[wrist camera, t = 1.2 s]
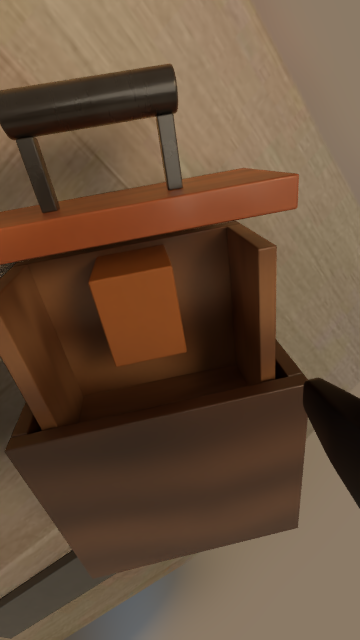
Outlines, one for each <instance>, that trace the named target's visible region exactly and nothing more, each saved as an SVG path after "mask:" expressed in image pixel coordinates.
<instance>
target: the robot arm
mask: <svg viewBox="0 0 360 640" xmlns="http://www.w3.org/2000/svg"><path fill="white" fill-rule="evenodd" d="M303 407H304V409H305V412H306V414H307V416H308V418H309V420H310V422H311V424H312V426H313V428H314V430H315V432H316V434H317V436H318V438H319V440H320V442H321V444H322V446H323V448H324V450H325V452H326V454H327V456H328V458H329V460H330V462H331V463H332V465H333V466H334V468H335V470H336V471H337V473H338V475H339V476H340V478H341V479H342V481H343V483H344V484H345V486H346V487H347V489H348V491H349V492H350V494H351V496H352V497H353V498H354V500H355V502H356V504H357V505H358V507H359V508H360V398H358V397H356V396H354V395H352V394H350V393H348V392H346V391H344V390H342V389H341V388H339V387H337V386H335V385H333V384H331V383H329V382H327V381H325V380H323V379H321V378H314V379H310V380H306V381H305V382H304V388H303Z"/></svg>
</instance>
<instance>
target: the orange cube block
mask: <svg viewBox="0 0 360 640" xmlns="http://www.w3.org/2000/svg"><path fill="white" fill-rule="evenodd" d="M88 284H89V287H90V290H91V293H92V297H93V300H94V303H95V306H96V309H97V312H98V315H99V318H100V321H101V324H102V327H103V330H104V333H105V336H106V339H107V342H108V345H109V348H110V351H111V354H112V357H113V360H114V363H115V366H116V367H120V366H124V365H129V364H134V363H139V362H143V361H148V360H153V359H157V358H162V357H167V356H172V355H176V354H181V353H185V352H186V351H187V350H186V344H185V338H184V332H183V326H182V320H181V315H180V309H179V303H178V297H177V291H176V285H175V280H174V274H173V268H172V265H171V262H170V260H169V257H168V254H167V252H166V249H165V246H164V245H157V246H152V247H147V248H141V249H136V250H131V251H126V252H120V253H115V254H110V255H105V256H100V257H97V258H96V260H95V263H94V266H93V269H92V272H91V275H90V278H89V281H88Z"/></svg>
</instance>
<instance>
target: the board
mask: <svg viewBox="0 0 360 640" xmlns="http://www.w3.org/2000/svg"><path fill="white" fill-rule="evenodd" d="M114 574H116V573H114ZM114 574H110V575H106V576H102V577H98V578H94V579H92V577H91V576H90V575H89V573H88V572H87V570H86V569H85V567H84V566H83V564H82V563H81V561H80V560H79V559H78V557H77V556H76V554H75V553H74V551H72V552H70V553H69V554H67V555H66V556H64V557H63V558H61V559H60V560H58V561H57V562H55V563H54V564H52V565H51V566H49V567H48V568H46V569H45V570H43V571H42V572H40V573H39V574H37V575H36V576H34V577H33V578H31V579H30V580H29V581H27V582H26V583H24V584H23V585H21V586H20V587H18V588H17V589H15V590H14V591H12V592H11V593H9V594H8V595H6V596H5V597H3V598H2V599H0V637H4V638H10V639H11V638H13V637H14V636H16V635H18V634H19V633H21V632H22V631H24V630H26V629H27V628H29V627H30V626H32V625H34V624H35V623H37V622H39V621H40V620H42V619H43V618H45V617H47V616H48V615H50V614H51V613H53V612H55V611H56V610H58V609H59V608H61V607H63V606H64V605H66V604H68V603H69V602H71V601H72V600H74V599H76V598H77V597H79V596H80V595H82V594H84V593H85V592H87V591H88V590H90V589H92V588H93V587H95V586H97V585H98V584H100V583H101V582H103V581H105V580H106V579H108V578H109V577H111V576H113V575H114Z"/></svg>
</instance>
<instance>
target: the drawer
mask: <svg viewBox="0 0 360 640" xmlns="http://www.w3.org/2000/svg"><path fill="white" fill-rule="evenodd" d="M177 109H178V92H177V83H176V77H175V72H174V69H173V66H172V65H171V64H164V65H158V66H152V67H145V68H139V69H133V70H126V71H120V72H114V73H107V74H101V75H95V76H89V77H82V78H76V79H70V80H63V81H57V82H51V83H44V84H38V85H32V86H25V87H19V88H13V89H6V90H0V125H1V126H2V128H3V130H4V131H5V133H6V134H7V136H8V137H9V138H10V139H12V140H16V143H17V145H18V148H19V151H20V154H21V156H22V159H23V162H24V165H25V167H26V170H27V173H28V175H29V178H30V181H31V184H32V186H33V189H34V192H35V195H36V197H37V200H38V203H39V205H36V206H30V207H24V208H19V209H13V210H8V211H2V212H0V265H2V264H7V263H12V262H17V261H21V262H17V263H16V264H15V265H14V266H13V267H12V268H11V269H10V270H9V271H8V272H7V273H6V274H5V275H4V276H3V277H1V278H0V356H1V358H2V360H3V362H4V363H5V365H6V367H7V369H8V371H9V372H10V374H11V376H12V378H13V379H14V381H15V383H16V385H17V387H18V388H19V390H20V392H21V394H22V395H23V397H24V399H25V401H26V403H27V404H28V406H29V408H30V410H31V411H32V413H33V415H34V417H35V419H36V420H37V422H38V424H39V426H40V428H41V429H42V431H44V430H49V429H53V428H58V427H62V426H67V425H71V424H76V423H80V422H85V421H90V420H94V419H99V418H103V417H108V416H112V415H117V414H121V413H126V412H130V411H135V410H139V409H144V408H149V407H153V406H158V405H162V404H167V403H171V402H176V401H180V400H185V399H189V398H194V397H198V396H203V395H208V394H212V393H217V392H221V391H226V390H230V389H235V388H239V387H244V386H248V385H253V384H257V383H262V382H267V381H271V380H275V338H276V251H277V247H276V245H274V244H273V243H271V242H269V241H268V240H266V239H265V238H263V237H261V236H260V235H258V234H256V233H255V232H253V231H251V230H250V229H248V228H247V227H245V226H243V225H242V224H240V223H239V222H237V221H234V220H239V219H245V218H250V217H255V216H260V215H266V214H271V213H276V212H282V211H287V210H292V209H296V208H297V204H298V181H299V175H298V174H295V173H285V172H276V171H267V170H257V169H248V168H241V169H236V170H230V171H225V172H219V173H213V174H208V175H202V176H197V177H191V178H186V179H182V177H181V169H180V162H179V154H178V147H177V139H176V132H175V124H174V117H173V114H174V113H176V112H177ZM156 116H157V117H156ZM150 117H156V124H157V130H158V136H159V142H160V149H161V155H162V161H163V168H164V174H165V180H166V182H163V183H158V184H152V185H147V186H141V187H136V188H130V189H125V190H119V191H113V192H108V193H102V194H97V195H91V196H86V197H80V198H74V199H69V200H63V201H58V200H57V197H56V194H55V191H54V188H53V185H52V182H51V179H50V176H49V173H48V170H47V167H46V164H45V161H44V158H43V155H42V152H41V149H40V146H39V143H38V140H37V138H35V137H37V136H43V135H49V134H55V133H61V132H67V131H73V130H79V129H85V128H91V127H97V126H103V125H109V124H115V123H121V122H127V121H133V120H138V119H144V118H150ZM229 221H232V222H229ZM223 222H227V223H223ZM218 223H221V224H218ZM213 224H216V225H213ZM208 225H211V226H208ZM202 226H205V227H202ZM197 227H200V228H197ZM192 228H195V229H192ZM186 229H190V230H186ZM181 230H184V231H181ZM176 231H179V232H176ZM171 232H174V233H171ZM165 233H169V234H165ZM160 234H163V235H160ZM155 235H158V236H155ZM150 236H153V237H150ZM144 237H147V238H144ZM139 238H142V239H139ZM134 239H137V240H134ZM128 240H132V241H128ZM123 241H126V242H123ZM118 242H121V243H118ZM113 243H116V244H113ZM107 244H110V245H107ZM102 245H105V246H102ZM157 245H164V246H165V249H166V252H167V254H168V257H169V260H170V262H171V265H172V268H173V274H174V280H175V285H176V291H177V297H178V303H179V309H180V315H181V320H182V326H183V332H184V338H185V344H186V350H187V351H186V352H185V353H181V354H176V355H172V356H167V357H162V358H157V359H153V360H148V361H143V362H139V363H134V364H129V365H124V366H120V367H116V366H115V363H114V360H113V357H112V354H111V351H110V348H109V345H108V342H107V339H106V336H105V333H104V330H103V327H102V324H101V321H100V318H99V315H98V312H97V309H96V306H95V303H94V300H93V297H92V293H91V290H90V287H89V284H88V281H89V278H90V275H91V272H92V269H93V266H94V263H95V260H96V258H97V257H100V256H105V255H110V254H115V253H120V252H126V251H131V250H136V249H141V248H147V247H152V246H157ZM97 246H100V247H97ZM91 247H95V248H91ZM86 248H89V249H86ZM81 249H84V250H81ZM76 250H79V251H76ZM70 251H73V252H70ZM65 252H68V253H65ZM60 253H63V254H60ZM54 254H58V255H54ZM49 255H52V256H49ZM44 256H47V257H44ZM39 257H42V258H39ZM33 258H37V259H33ZM28 259H31V260H28ZM23 260H26V261H23Z"/></svg>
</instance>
